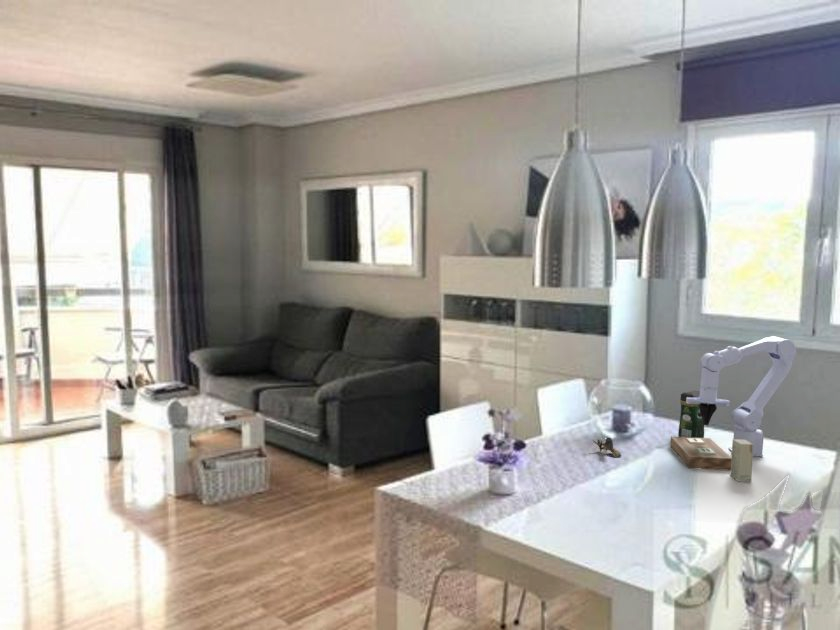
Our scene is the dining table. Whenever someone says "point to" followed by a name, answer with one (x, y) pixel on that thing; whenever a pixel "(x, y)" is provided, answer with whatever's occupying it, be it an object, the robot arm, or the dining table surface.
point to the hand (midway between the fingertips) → (705, 424)
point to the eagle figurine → (608, 447)
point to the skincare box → (742, 460)
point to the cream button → (694, 441)
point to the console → (700, 460)
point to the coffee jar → (690, 417)
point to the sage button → (705, 451)
